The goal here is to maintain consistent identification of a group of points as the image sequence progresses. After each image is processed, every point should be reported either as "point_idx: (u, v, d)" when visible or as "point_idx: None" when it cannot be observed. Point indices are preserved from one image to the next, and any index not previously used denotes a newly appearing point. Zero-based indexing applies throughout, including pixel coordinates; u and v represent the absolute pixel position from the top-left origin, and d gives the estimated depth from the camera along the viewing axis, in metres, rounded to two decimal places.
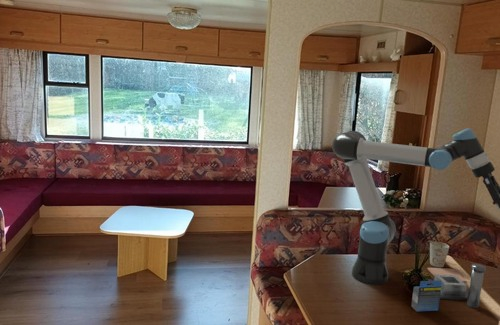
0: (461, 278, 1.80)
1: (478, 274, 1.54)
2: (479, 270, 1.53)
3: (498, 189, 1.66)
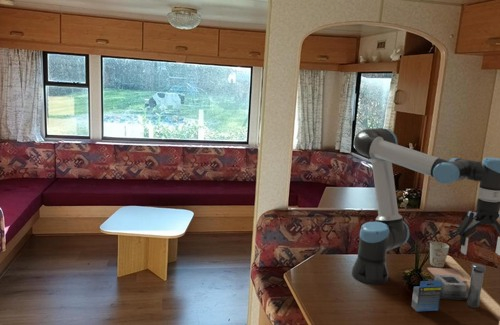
0: (461, 278, 1.80)
1: (478, 274, 1.54)
2: (479, 270, 1.53)
3: None
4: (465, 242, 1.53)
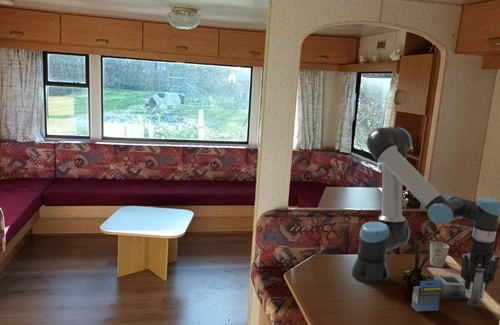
0: (461, 278, 1.80)
1: (478, 274, 1.54)
2: (479, 270, 1.53)
3: (484, 274, 1.55)
4: (470, 286, 1.56)
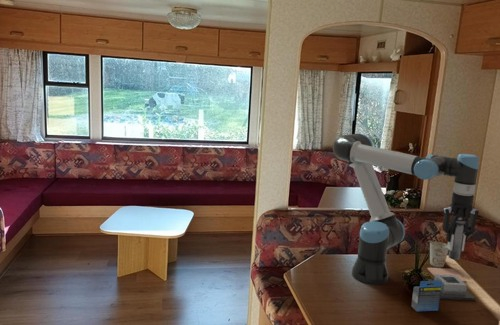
0: (461, 278, 1.80)
1: (459, 227, 1.62)
2: (459, 223, 1.61)
3: (464, 227, 1.63)
4: (451, 239, 1.64)
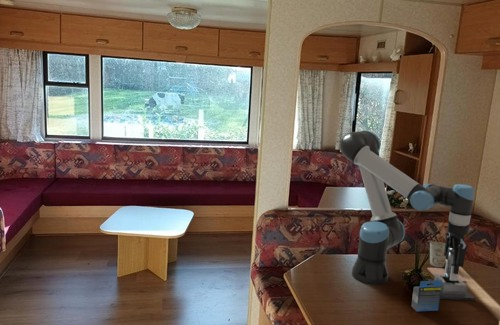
0: (461, 278, 1.80)
1: None
2: None
3: None
4: None
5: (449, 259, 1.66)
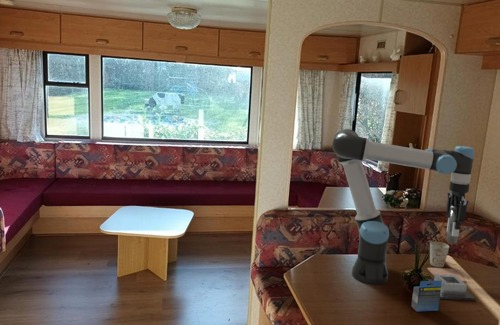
0: (461, 278, 1.80)
1: None
2: None
3: None
4: None
5: (451, 216, 1.78)
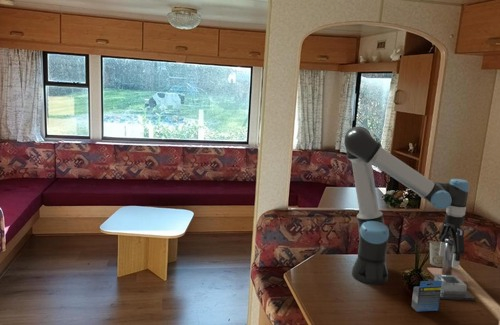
0: (461, 278, 1.80)
1: None
2: None
3: None
4: None
5: (446, 249, 1.81)
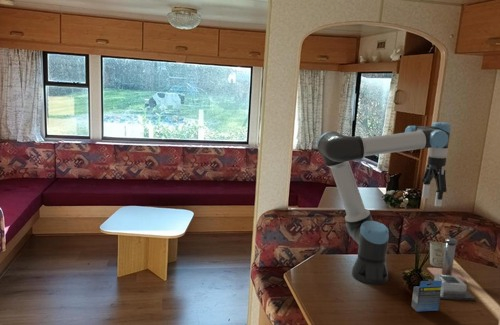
0: (461, 278, 1.80)
1: (455, 246, 1.80)
2: None
3: (429, 180, 1.93)
4: None
5: (446, 249, 1.81)
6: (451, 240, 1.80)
